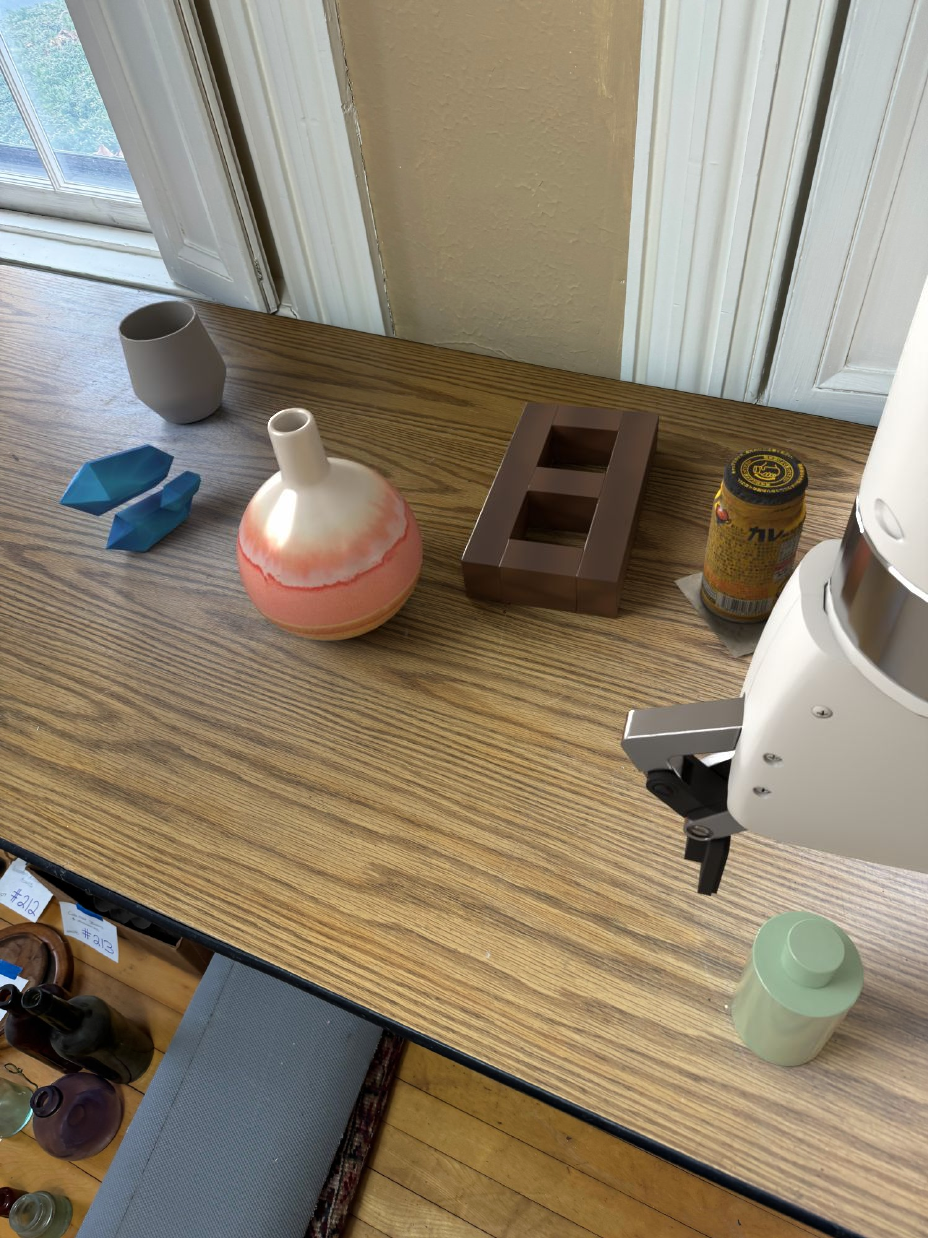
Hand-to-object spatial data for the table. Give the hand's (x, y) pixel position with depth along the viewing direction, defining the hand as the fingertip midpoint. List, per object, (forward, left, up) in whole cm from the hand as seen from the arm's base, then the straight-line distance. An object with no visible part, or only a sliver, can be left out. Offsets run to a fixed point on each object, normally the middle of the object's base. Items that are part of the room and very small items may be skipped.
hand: (838, 890), depth 33 cm
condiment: (+4, -29, -16) cm, 34 cm away
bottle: (0, 0, -16) cm, 16 cm away
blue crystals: (+55, -28, -16) cm, 64 cm away
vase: (+34, -23, -16) cm, 44 cm away
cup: (+61, -46, -16) cm, 78 cm away
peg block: (+19, -36, -16) cm, 44 cm away
